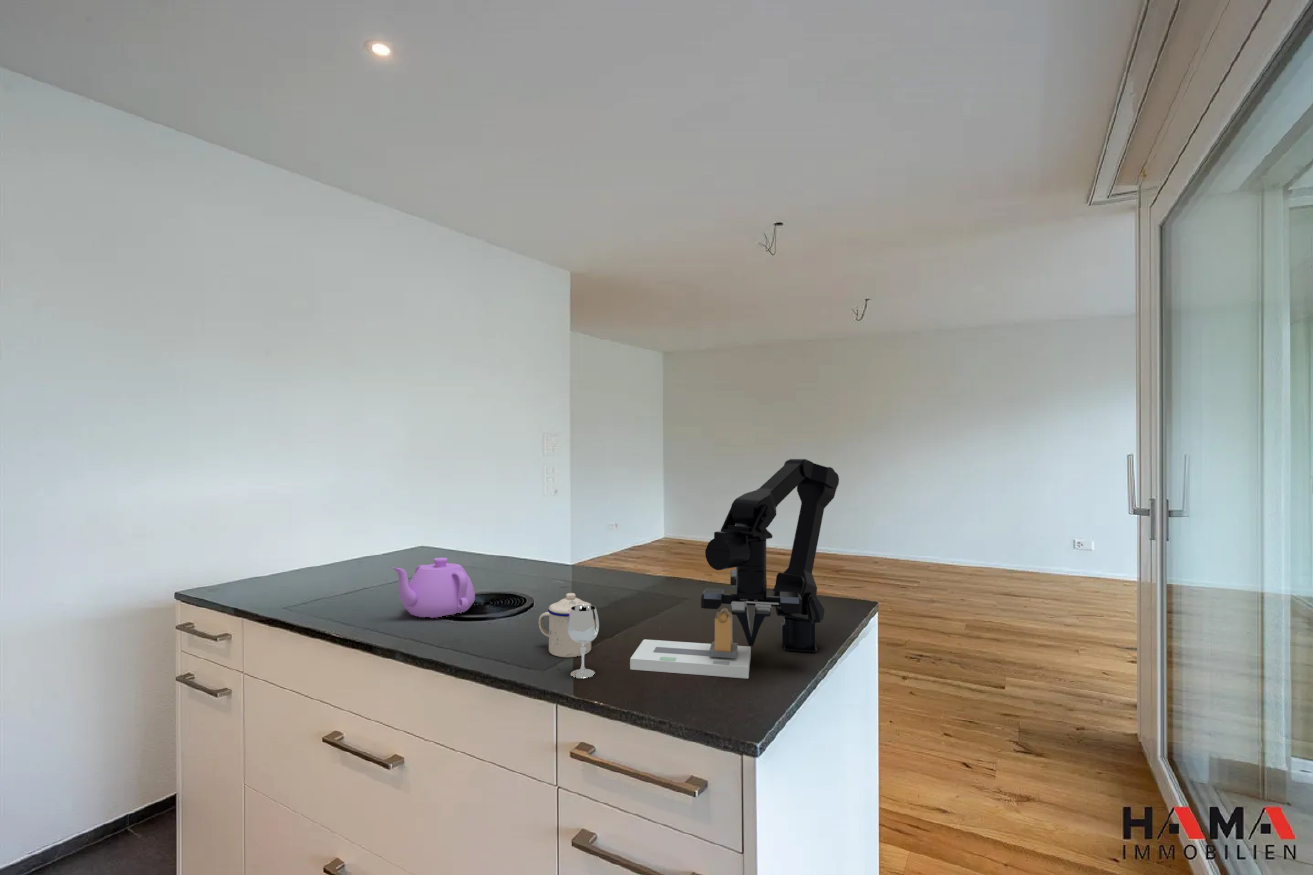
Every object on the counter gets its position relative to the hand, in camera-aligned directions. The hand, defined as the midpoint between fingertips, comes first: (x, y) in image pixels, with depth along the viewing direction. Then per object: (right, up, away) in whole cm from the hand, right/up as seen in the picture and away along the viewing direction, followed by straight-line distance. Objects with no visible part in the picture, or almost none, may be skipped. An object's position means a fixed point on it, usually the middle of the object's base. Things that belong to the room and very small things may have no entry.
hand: (751, 645), depth 112 cm
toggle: (-5, -2, +1) cm, 5 cm away
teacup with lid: (-37, -4, +9) cm, 39 cm away
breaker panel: (-11, -4, +2) cm, 12 cm away
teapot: (-75, -5, +36) cm, 83 cm away
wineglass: (-32, -4, -4) cm, 32 cm away
